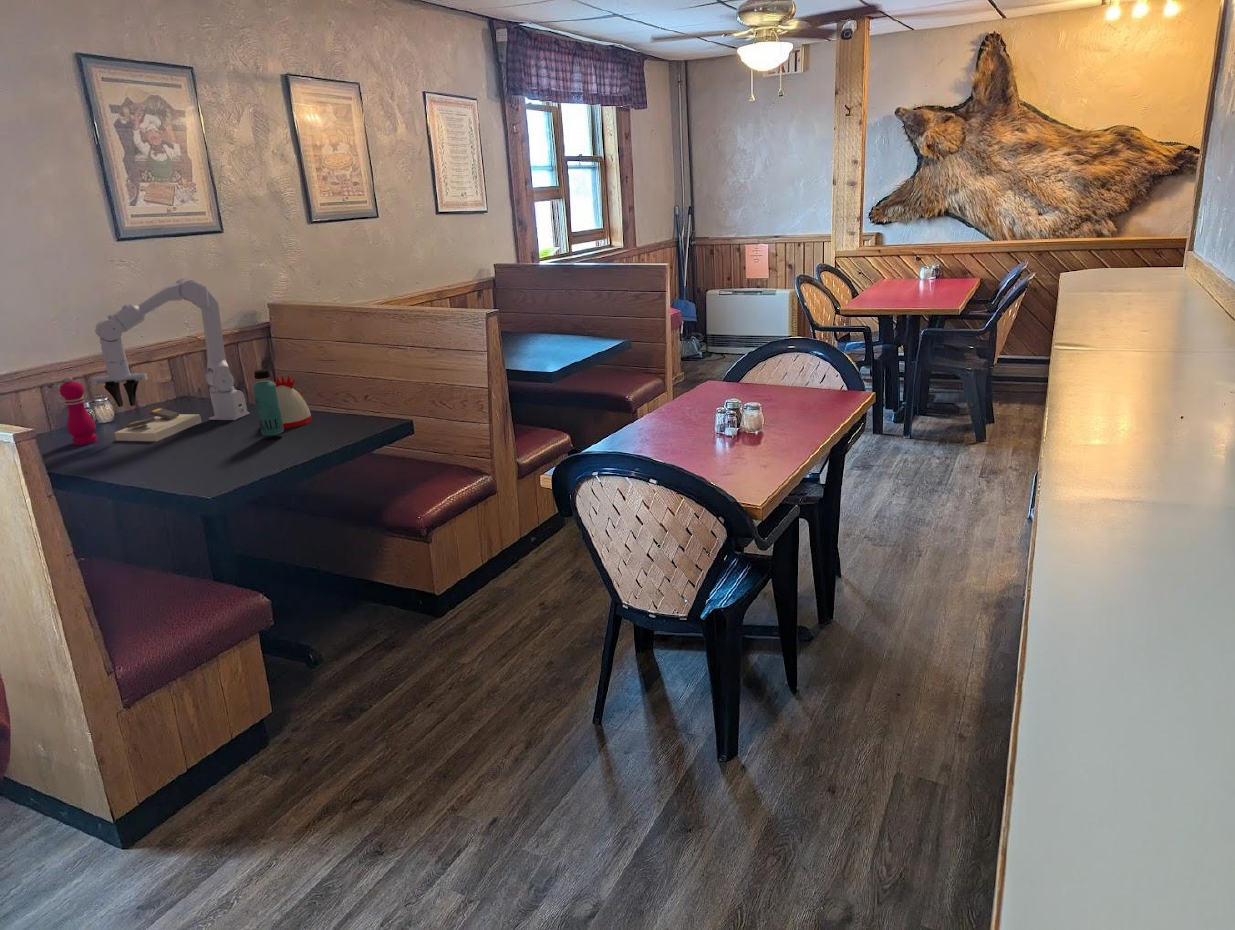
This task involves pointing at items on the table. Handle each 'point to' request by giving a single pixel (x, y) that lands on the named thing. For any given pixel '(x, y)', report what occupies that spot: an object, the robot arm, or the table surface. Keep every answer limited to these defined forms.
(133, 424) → the block
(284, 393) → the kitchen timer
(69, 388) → the pepper mill
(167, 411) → the block
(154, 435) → the switch console
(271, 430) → the beverage bottle
